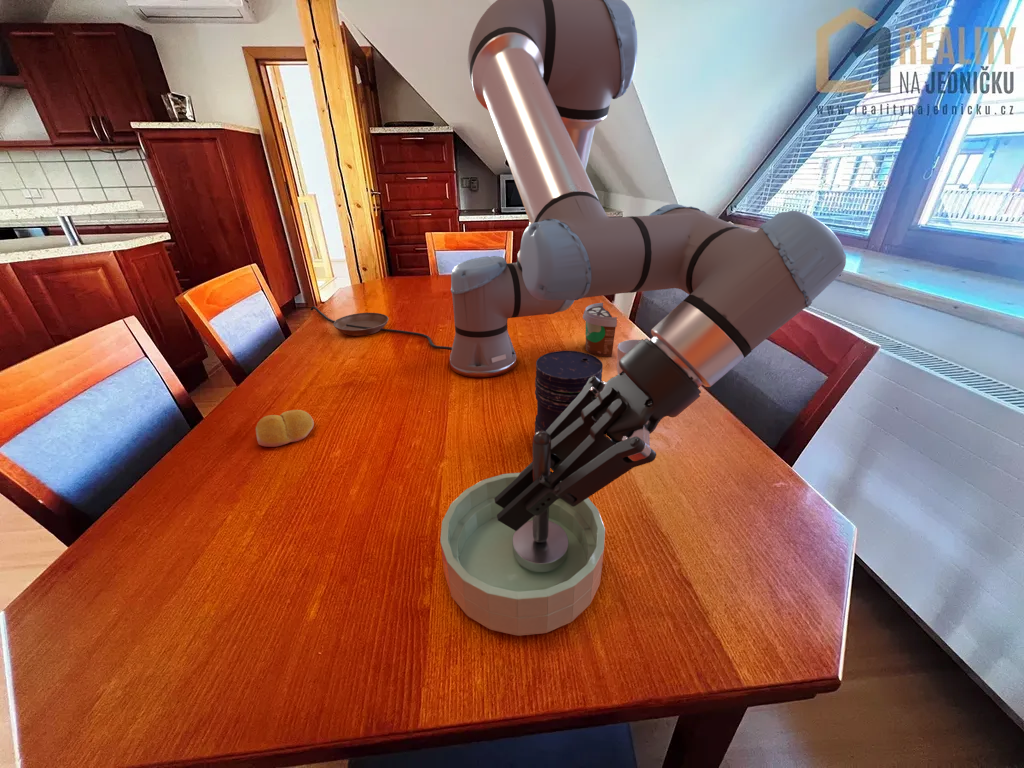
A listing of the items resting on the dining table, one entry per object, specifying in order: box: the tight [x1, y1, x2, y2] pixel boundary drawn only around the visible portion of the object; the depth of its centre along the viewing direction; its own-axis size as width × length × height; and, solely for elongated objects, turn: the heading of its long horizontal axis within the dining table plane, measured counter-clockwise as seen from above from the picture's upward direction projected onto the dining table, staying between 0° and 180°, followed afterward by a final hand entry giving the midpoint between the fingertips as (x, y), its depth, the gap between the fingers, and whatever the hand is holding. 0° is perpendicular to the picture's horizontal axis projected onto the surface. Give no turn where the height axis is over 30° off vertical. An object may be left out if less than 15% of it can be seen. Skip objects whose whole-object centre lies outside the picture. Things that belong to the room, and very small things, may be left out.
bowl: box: [439, 472, 606, 637], centre depth 47 cm, size 18×18×6 cm
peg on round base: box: [512, 431, 569, 572], centre depth 45 cm, size 6×6×16 cm
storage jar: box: [534, 350, 604, 440], centre depth 65 cm, size 10×10×15 cm
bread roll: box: [255, 409, 315, 448], centre depth 73 cm, size 8×9×4 cm
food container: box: [582, 302, 618, 357], centre depth 102 cm, size 12×6×10 cm, turn 5°
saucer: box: [332, 312, 390, 337], centre depth 119 cm, size 15×15×3 cm
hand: (505, 514), depth 46 cm, fingers closed on peg on round base, 2 cm apart
